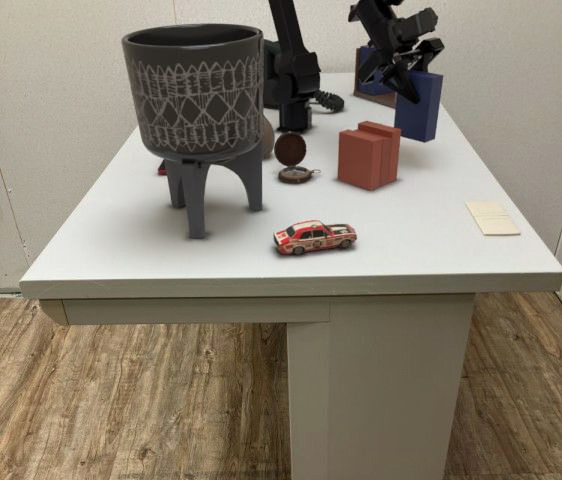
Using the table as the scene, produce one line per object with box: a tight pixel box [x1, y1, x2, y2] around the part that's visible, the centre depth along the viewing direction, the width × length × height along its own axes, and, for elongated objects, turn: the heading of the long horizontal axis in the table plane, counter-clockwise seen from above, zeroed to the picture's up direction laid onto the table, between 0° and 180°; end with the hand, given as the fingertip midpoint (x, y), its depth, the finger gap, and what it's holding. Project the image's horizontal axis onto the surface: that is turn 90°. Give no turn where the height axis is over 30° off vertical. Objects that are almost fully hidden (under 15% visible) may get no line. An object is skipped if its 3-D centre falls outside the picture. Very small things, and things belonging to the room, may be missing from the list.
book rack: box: [352, 47, 397, 109], centre depth 152 cm, size 8×18×11 cm, turn 32°
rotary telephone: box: [264, 38, 345, 112], centre depth 153 cm, size 33×22×15 cm, turn 58°
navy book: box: [393, 69, 444, 144], centre depth 111 cm, size 8×3×11 cm, turn 42°
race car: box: [272, 219, 358, 256], centre depth 88 cm, size 5×12×5 cm, turn 99°
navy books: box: [358, 44, 395, 96], centre depth 155 cm, size 8×6×11 cm
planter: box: [120, 22, 265, 239], centre depth 91 cm, size 20×20×26 cm
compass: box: [273, 131, 322, 184], centre depth 111 cm, size 8×8×7 cm
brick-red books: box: [337, 120, 402, 192], centre depth 108 cm, size 8×7×9 cm
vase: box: [262, 114, 276, 160], centre depth 120 cm, size 7×7×9 cm
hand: (424, 101), depth 110 cm, fingers closed on navy book, 3 cm apart
